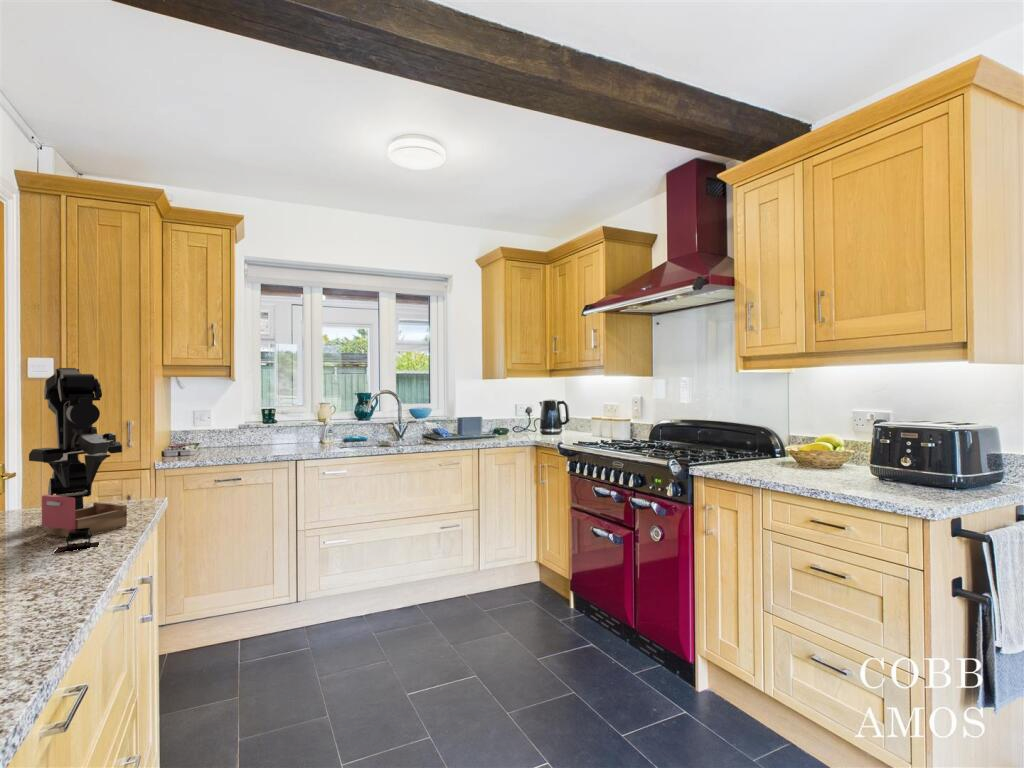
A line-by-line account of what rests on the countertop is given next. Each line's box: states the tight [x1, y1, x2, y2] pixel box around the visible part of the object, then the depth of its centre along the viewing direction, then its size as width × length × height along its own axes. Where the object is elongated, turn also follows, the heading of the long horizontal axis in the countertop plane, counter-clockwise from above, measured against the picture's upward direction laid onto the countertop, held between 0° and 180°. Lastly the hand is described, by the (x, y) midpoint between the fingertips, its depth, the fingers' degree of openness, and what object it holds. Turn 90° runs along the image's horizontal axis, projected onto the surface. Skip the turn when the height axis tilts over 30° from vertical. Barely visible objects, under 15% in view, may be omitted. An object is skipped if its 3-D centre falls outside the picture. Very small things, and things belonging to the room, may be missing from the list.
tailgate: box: [41, 494, 75, 530], centre depth 133 cm, size 10×2×8 cm, turn 72°
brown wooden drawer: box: [46, 501, 128, 537], centre depth 140 cm, size 11×12×6 cm
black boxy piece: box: [54, 528, 100, 554], centre depth 126 cm, size 12×7×5 cm, turn 122°
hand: (78, 485), depth 138 cm, fingers open, 5 cm apart
